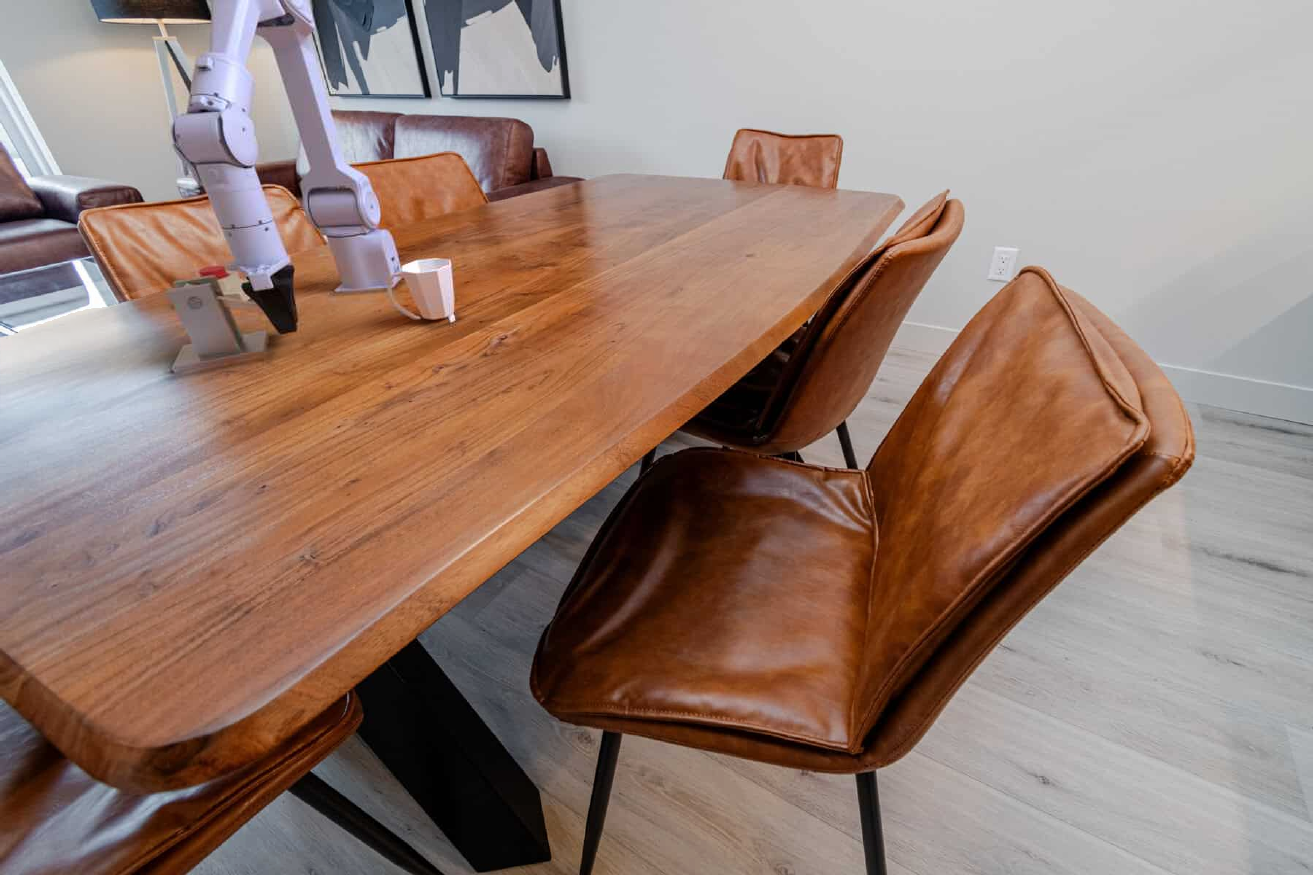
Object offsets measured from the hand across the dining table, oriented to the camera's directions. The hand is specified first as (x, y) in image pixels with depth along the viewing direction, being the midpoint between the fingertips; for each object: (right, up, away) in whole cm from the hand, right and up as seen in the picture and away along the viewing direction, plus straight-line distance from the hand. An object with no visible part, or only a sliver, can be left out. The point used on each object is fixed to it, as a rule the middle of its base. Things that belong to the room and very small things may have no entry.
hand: (289, 327), depth 80 cm
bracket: (-7, -4, -2) cm, 8 cm away
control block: (-23, +9, +19) cm, 31 cm away
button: (-23, +11, +18) cm, 31 cm away
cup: (+17, +2, +6) cm, 18 cm away
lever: (-4, +1, -3) cm, 5 cm away
